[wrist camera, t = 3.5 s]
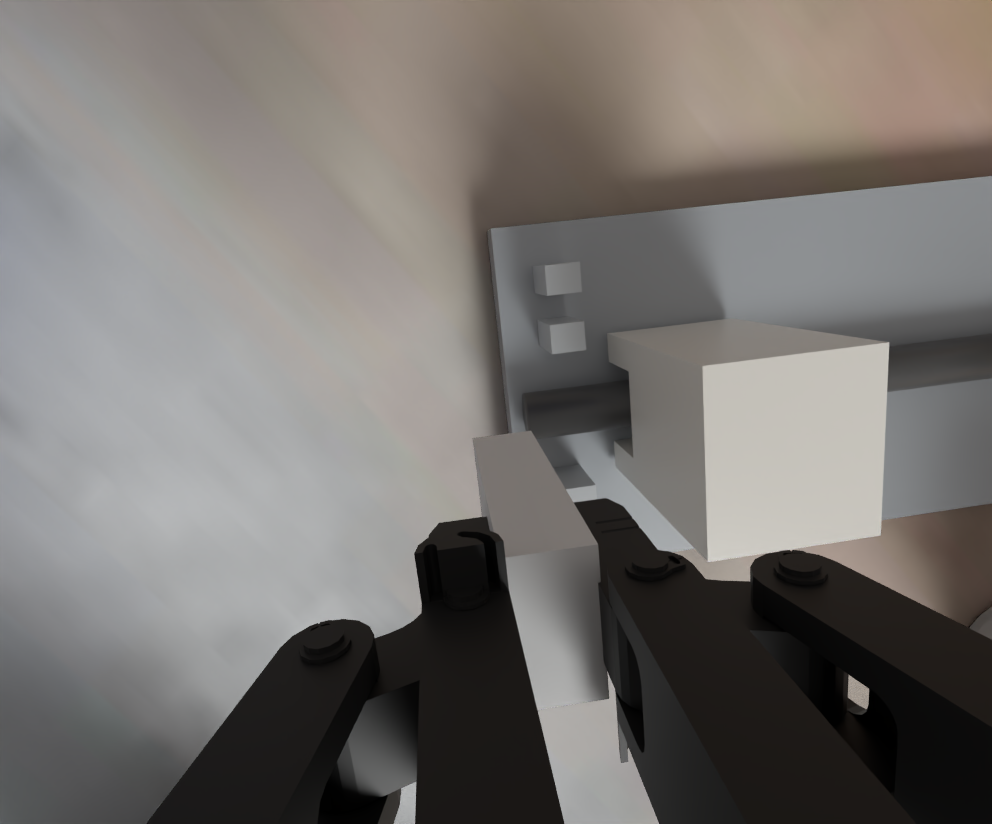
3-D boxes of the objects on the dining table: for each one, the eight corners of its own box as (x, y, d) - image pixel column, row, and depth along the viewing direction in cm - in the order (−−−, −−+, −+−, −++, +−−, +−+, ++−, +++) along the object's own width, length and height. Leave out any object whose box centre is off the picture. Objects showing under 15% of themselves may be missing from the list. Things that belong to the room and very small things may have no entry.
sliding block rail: (521, 558, 27) (544, 627, 22) (487, 231, 24) (503, 219, 19) (1075, 474, 29) (1220, 520, 24) (1113, 165, 26) (1290, 137, 21)
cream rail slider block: (615, 466, 25) (707, 562, 17) (607, 333, 23) (702, 366, 15) (733, 449, 25) (880, 535, 17) (731, 318, 24) (889, 342, 16)
